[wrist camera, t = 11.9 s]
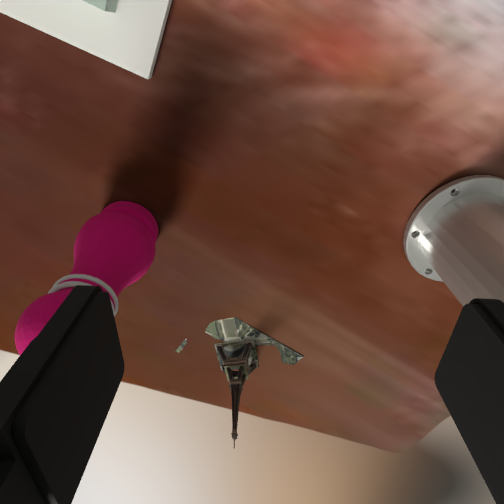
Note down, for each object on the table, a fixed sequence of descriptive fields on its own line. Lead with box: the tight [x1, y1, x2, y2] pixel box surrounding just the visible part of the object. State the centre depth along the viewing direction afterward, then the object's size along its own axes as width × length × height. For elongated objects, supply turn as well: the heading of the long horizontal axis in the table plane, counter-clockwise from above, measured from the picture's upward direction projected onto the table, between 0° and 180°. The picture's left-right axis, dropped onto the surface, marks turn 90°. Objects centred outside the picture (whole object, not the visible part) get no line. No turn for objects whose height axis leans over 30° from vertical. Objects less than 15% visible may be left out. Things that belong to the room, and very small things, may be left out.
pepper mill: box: [15, 201, 158, 355], centre depth 30 cm, size 7×7×20 cm
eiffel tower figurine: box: [175, 318, 303, 447], centre depth 43 cm, size 15×10×13 cm
